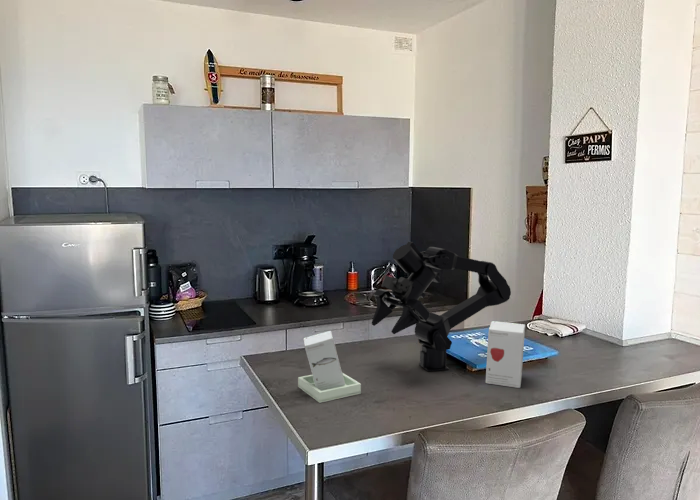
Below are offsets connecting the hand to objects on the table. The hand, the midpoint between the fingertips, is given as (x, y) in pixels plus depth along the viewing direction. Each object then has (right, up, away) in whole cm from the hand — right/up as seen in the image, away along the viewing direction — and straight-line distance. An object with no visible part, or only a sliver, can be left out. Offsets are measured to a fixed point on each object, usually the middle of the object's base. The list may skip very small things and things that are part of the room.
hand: (382, 328), depth 143 cm
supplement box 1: (-13, -13, -8) cm, 20 cm away
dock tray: (-14, -14, -7) cm, 21 cm away
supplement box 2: (+33, -14, +1) cm, 36 cm away
